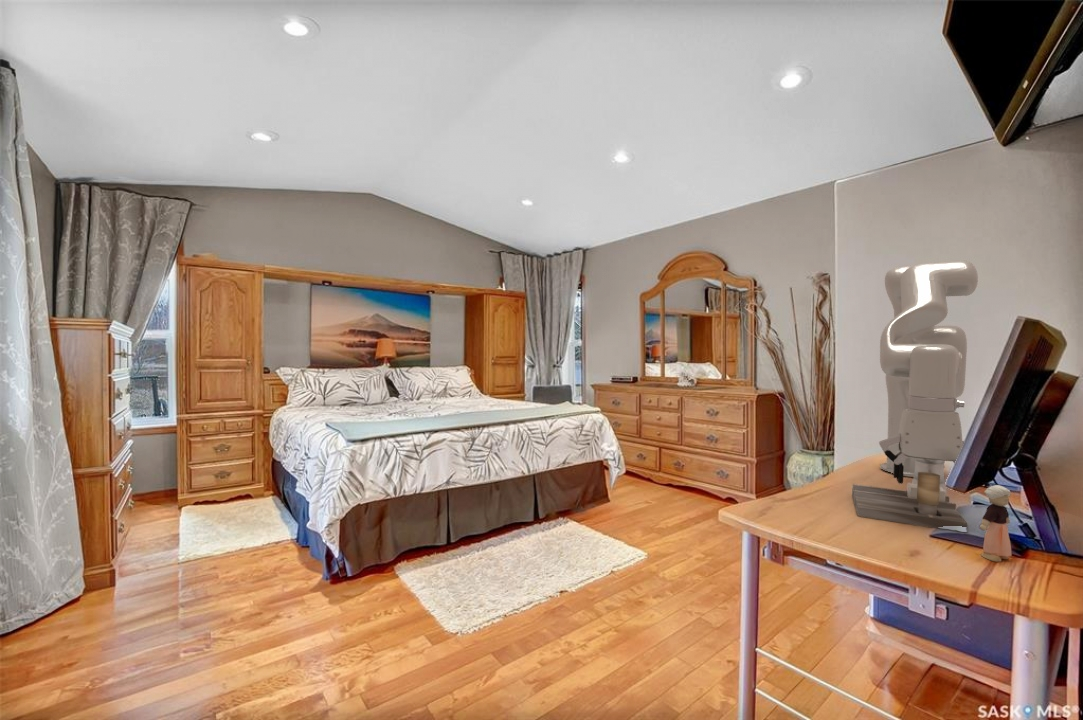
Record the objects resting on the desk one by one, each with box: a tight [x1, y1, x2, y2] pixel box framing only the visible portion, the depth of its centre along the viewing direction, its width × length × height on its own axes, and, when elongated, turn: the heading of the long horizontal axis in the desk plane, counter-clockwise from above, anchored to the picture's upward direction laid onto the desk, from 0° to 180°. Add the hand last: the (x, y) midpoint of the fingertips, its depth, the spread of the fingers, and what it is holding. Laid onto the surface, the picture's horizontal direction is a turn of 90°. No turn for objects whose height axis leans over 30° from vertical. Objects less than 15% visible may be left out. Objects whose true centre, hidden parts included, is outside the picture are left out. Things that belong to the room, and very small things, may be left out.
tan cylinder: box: [917, 472, 940, 516], centre depth 100 cm, size 4×4×10 cm
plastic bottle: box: [911, 458, 947, 496], centre depth 112 cm, size 6×7×20 cm
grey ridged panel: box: [851, 483, 968, 529], centre depth 105 cm, size 16×18×3 cm
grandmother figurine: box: [979, 484, 1013, 563], centre depth 83 cm, size 8×4×13 cm, turn 123°
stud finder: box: [906, 482, 947, 502], centre depth 106 cm, size 4×6×3 cm, turn 60°
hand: (928, 485), depth 100 cm, fingers open, 9 cm apart
